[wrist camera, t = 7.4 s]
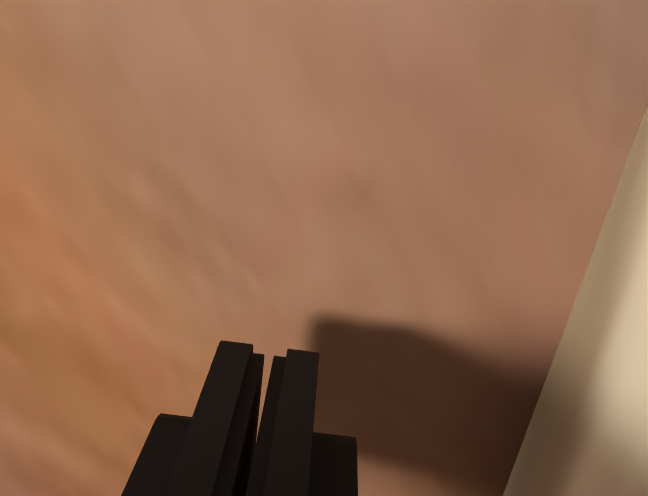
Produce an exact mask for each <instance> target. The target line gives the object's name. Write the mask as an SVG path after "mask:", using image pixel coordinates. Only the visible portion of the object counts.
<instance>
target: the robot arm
mask: <svg viewBox="0 0 648 496" xmlns="http://www.w3.org/2000/svg"><path fill="white" fill-rule="evenodd" d="M318 362H319V353H317V352H309V351H301V350H293V349H288V350H287V356H286V357H280V356H274V358H273V363H272V368H271V373H270V377H269V382H268V387H267V392H266V397H265V402H264V407H263V412H262V417H261V422H260V426H259V431H258V436H257V426H258V416H259V406H260V396H261V386H262V375H263V365H264V354H256V353H253V344H246V343H238V342H230V341H222V340H221V341H220V343H219V345H218V348H217V351H216V353H215V356H214V359H213V362H212V364H211V367H210V370H209V373H208V375H207V378H206V381H205V383H204V386H203V389H202V392H201V394H200V397H199V400H198V403H197V405H196V408H195V411H194V413H193V416H192V417H186V416H178V415H170V414H162V413H161V414H160V415H158V417H157V418H156V420H155V422H154V424H153V426H152V428H151V431H150V433H149V435H148V437H147V439H146V442H145V444H144V446H143V448H142V451H141V453H140V455H139V457H138V459H137V462H136V464H135V466H134V468H133V471H132V473H131V475H130V477H129V479H128V482H127V484H126V486H125V488H124V491H123V493H122V495H121V496H358V478H357V441H356V437H348V436H340V435H332V434H323V433H315V432H313V424H314V412H315V399H316V387H317V374H318ZM256 436H257V441H256Z"/></svg>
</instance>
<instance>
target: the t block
mask: <svg viewBox="0 0 648 496" xmlns="http://www.w3.org/2000/svg"><path fill="white" fill-rule="evenodd" d="M503 496H648V107H646V110H645V113H644V115H643V118H642V121H641V123H640V126H639V129H638V132H637V134H636V137H635V140H634V142H633V145H632V148H631V150H630V153H629V156H628V159H627V161H626V164H625V167H624V169H623V172H622V175H621V178H620V180H619V183H618V186H617V188H616V191H615V194H614V196H613V199H612V202H611V205H610V207H609V210H608V213H607V215H606V218H605V221H604V223H603V226H602V229H601V232H600V234H599V237H598V240H597V242H596V245H595V248H594V250H593V253H592V256H591V259H590V261H589V264H588V267H587V269H586V272H585V275H584V278H583V280H582V283H581V286H580V288H579V291H578V294H577V296H576V299H575V302H574V305H573V307H572V310H571V313H570V315H569V318H568V321H567V323H566V326H565V329H564V332H563V334H562V337H561V340H560V342H559V345H558V348H557V350H556V353H555V356H554V359H553V361H552V364H551V367H550V369H549V372H548V375H547V377H546V380H545V383H544V386H543V388H542V391H541V394H540V396H539V399H538V402H537V405H536V407H535V410H534V413H533V415H532V418H531V421H530V423H529V426H528V429H527V432H526V434H525V437H524V440H523V442H522V445H521V448H520V450H519V453H518V456H517V459H516V461H515V464H514V467H513V469H512V472H511V475H510V477H509V480H508V483H507V486H506V488H505V491H504V494H503Z"/></svg>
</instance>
